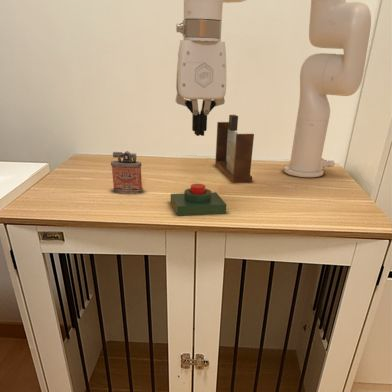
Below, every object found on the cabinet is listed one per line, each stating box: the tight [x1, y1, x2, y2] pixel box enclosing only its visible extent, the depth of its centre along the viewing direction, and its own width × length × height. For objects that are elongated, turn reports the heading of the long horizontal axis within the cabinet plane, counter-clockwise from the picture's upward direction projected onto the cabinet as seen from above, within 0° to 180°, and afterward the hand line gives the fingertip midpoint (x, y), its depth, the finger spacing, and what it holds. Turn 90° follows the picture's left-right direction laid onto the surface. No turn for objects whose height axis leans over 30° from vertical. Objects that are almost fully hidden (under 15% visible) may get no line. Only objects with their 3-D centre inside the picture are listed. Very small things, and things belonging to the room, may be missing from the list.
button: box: [190, 183, 206, 194], centre depth 100 cm, size 4×4×2 cm
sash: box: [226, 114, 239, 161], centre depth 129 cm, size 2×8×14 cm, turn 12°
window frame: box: [214, 121, 255, 184], centre depth 127 cm, size 6×22×13 cm, turn 12°
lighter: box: [110, 150, 144, 194], centre depth 109 cm, size 8×3×10 cm, turn 88°
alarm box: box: [170, 187, 227, 217], centre depth 101 cm, size 12×10×4 cm
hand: (199, 134), depth 92 cm, fingers closed
